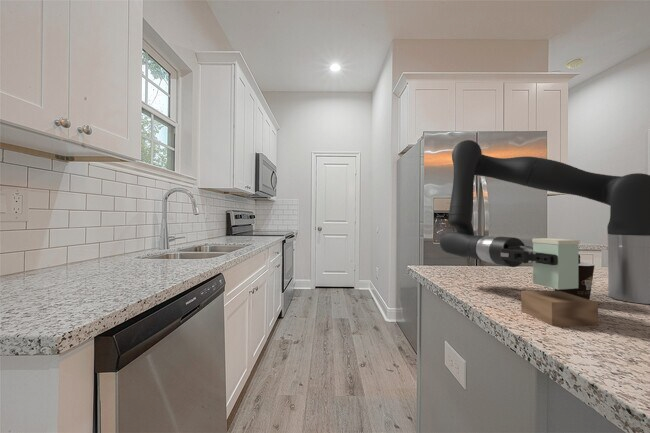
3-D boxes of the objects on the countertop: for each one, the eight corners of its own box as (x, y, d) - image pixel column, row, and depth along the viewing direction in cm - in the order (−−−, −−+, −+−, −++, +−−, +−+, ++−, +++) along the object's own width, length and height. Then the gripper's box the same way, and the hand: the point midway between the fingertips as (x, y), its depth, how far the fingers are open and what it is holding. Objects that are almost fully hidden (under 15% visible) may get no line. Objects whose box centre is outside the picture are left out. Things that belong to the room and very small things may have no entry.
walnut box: (560, 312, 64) (560, 290, 64) (598, 327, 55) (597, 302, 55) (521, 312, 64) (521, 290, 64) (552, 327, 55) (551, 302, 55)
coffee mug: (576, 297, 75) (575, 260, 75) (605, 307, 67) (604, 266, 67) (531, 296, 76) (530, 260, 77) (553, 305, 68) (553, 265, 68)
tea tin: (551, 282, 63) (551, 238, 63) (579, 288, 58) (579, 240, 58) (532, 283, 62) (532, 238, 62) (558, 289, 56) (558, 240, 56)
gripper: (476, 236, 72) (540, 242, 56) (521, 236, 75) (594, 241, 59) (476, 265, 72) (540, 279, 56) (521, 263, 75) (594, 276, 59)
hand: (567, 259), depth 57 cm, fingers closed on tea tin, 5 cm apart
